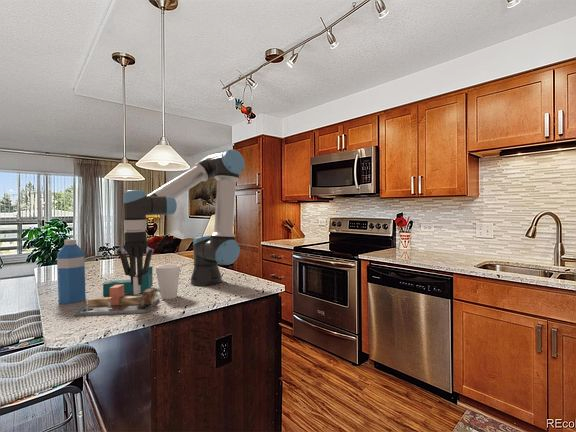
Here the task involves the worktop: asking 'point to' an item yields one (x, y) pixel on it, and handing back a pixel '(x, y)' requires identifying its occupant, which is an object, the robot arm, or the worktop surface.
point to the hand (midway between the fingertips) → (137, 293)
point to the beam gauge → (126, 299)
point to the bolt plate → (115, 309)
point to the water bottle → (71, 273)
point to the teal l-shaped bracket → (127, 284)
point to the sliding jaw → (115, 295)
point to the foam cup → (168, 280)
